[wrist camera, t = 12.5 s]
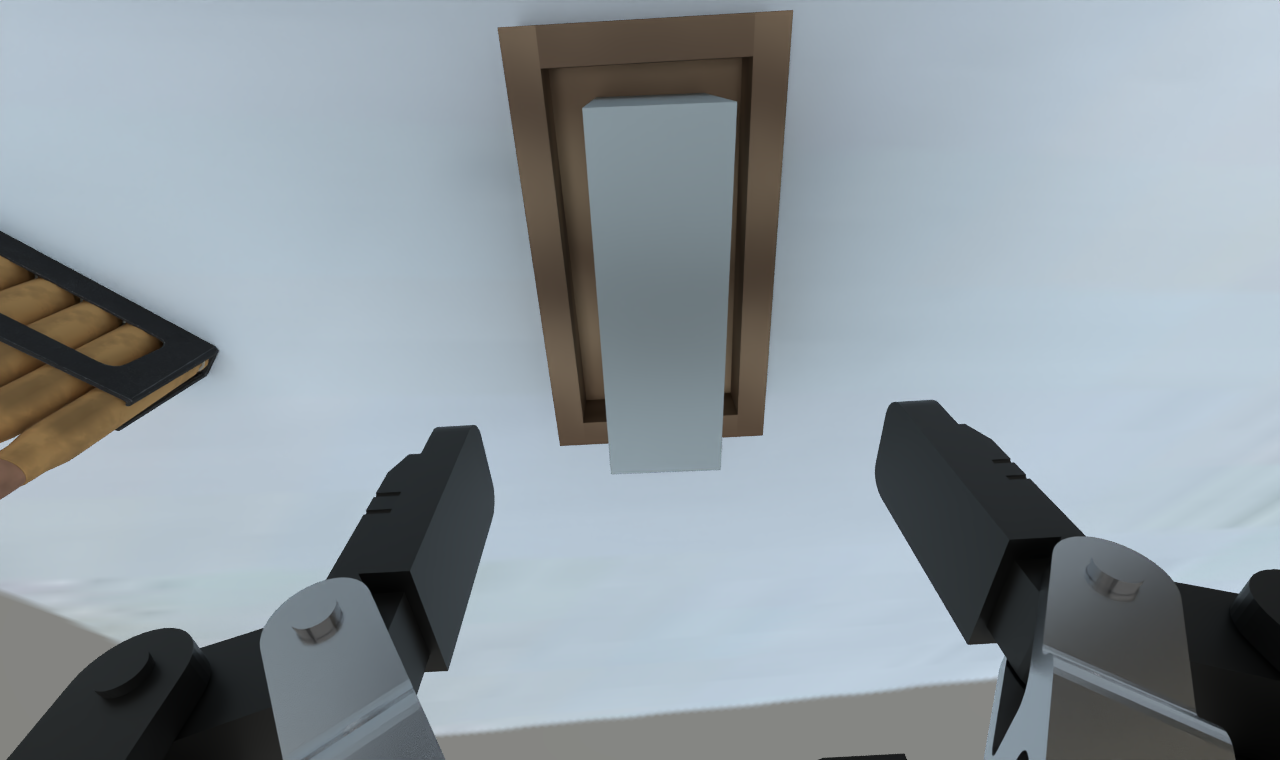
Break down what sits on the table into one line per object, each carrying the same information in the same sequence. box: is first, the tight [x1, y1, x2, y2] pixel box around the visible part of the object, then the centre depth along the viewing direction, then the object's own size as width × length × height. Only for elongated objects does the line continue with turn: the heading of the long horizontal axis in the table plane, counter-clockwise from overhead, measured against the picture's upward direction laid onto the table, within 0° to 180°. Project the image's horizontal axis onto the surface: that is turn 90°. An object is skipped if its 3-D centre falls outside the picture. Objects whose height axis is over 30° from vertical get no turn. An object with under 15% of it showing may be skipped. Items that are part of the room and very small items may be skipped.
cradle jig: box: [498, 10, 793, 446], centre depth 23 cm, size 16×9×3 cm, turn 3°
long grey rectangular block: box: [582, 93, 737, 474], centre depth 20 cm, size 12×4×7 cm, turn 2°
